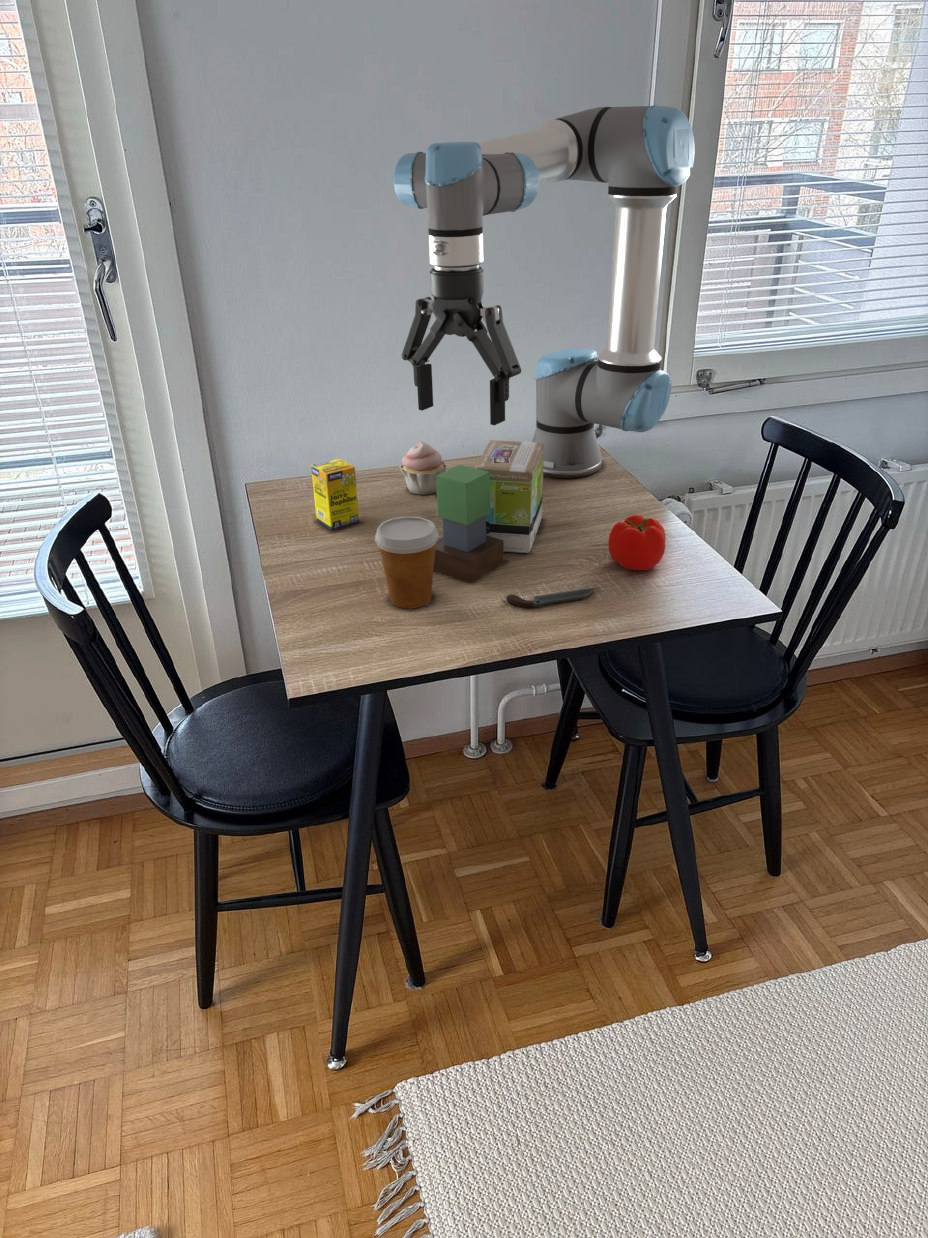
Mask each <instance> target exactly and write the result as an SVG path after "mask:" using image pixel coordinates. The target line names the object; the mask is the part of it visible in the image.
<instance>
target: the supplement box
mask: <svg viewBox="0 0 928 1238" xmlns="http://www.w3.org/2000/svg"><path fill="white" fill-rule="evenodd" d="M310 470H311V472H310V473H311V480H312V481H311V482H312V489H313V498H314V499H313V500H314V507H315V509H314V510H315V519H316V522H318V523H319V524H321V525H322V526H323V527H325V528H327V529H329V530H330V531H331V532H333V531H336V530H339V529H342V528H345V527H346V528H347V527H350V526H352V525H357V524H360V513H359V501H358V492H357V491H358V489H357V478H356V467H355V466H354V465H352V464H350V463H349V462H347V461H345V460H343V459H341V458H335V459H333V460H329V461H325V462H321V463H317V464H311V465H310Z"/></svg>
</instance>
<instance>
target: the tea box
mask: <svg viewBox="0 0 928 1238" xmlns="http://www.w3.org/2000/svg"><path fill="white" fill-rule="evenodd" d="M543 462H544V444H543V443H536V442H532V441H514V440H513V441H512V440H495V439H494V440H493V439H492V440H490V439H489V441H488V443H487V445H486V447H485V449H484V451H483V452H482V453H481V456H480V458H479V459H478V461H477V463H476V465H475V467H474V468H476V469H480V470H484V471H488V472H489V479H490V513H489V514H487V515H486V535H487V536H490V537H494V538H497V539H501V540H503V544H504V553H505V552H506V553H522V554H523V553H524V554H529V553H530V551H531V549H532V547H533V544H534V541H535V538H536V536H537V533H538V530H539V527H540V524H541V521H542V519H543V496H544V495H543V494H544V493H543V492H544V491H543V490H544V476H543Z"/></svg>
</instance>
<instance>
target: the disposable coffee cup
mask: <svg viewBox="0 0 928 1238" xmlns="http://www.w3.org/2000/svg"><path fill="white" fill-rule="evenodd" d="M437 540H439V531H438V530H437V528H436V525H435V523H434V522H433V521H432V520H430V519H428V518H424V517H421V516H415V515H414V516H412V515H411V516H409V515H407V516H398V517H397V516H396V517H393V518H390V519H386V520H385V521H383V522H381V523H380V524H379V525H378V526H377V529H376V533H375V535H374V541H375V543H376V545H377V547H378V549H379V555H380V559H381V563H382V567H383V572H384V575H385V581H386V586H387V590H388V595H389V599H390V603H391V604H392V605H393V606H395V607H397V608H401V609H418V608H421V607H424V606H426V605H428V604H429V603H430V602H431V600H432V593H433V580H434V571H433V570H434V557H435V545H436V542H437Z"/></svg>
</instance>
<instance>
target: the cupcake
mask: <svg viewBox="0 0 928 1238" xmlns="http://www.w3.org/2000/svg"><path fill="white" fill-rule="evenodd" d="M401 463H402V464H401V465H399V466H398V468H399V469H400V472H401V474H402V475H403V476H404V480H405V483H406V487H407V489H408V491H409V492H410V493H411V494H414V495H419V496H420V495H421V496H424V495H425V496H426V495H432V494H435V493H437V486H436V476H437V475H439V474H441V473H443V472H445V471H446V469H447V467H448V466H447V464H446V461H443V457H442V456H441V454H440V452H439V451H438V450H436V449H435V448H433V447H432V446H431V444H429V443H428V442H426V441H423V440H421V439H420V440H419V441H418V444H417V445H415V446H413V447H411V448H410V449H409V450H408V451H407V452H406V454H405V455H404V456H403V457H402V460H401Z"/></svg>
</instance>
